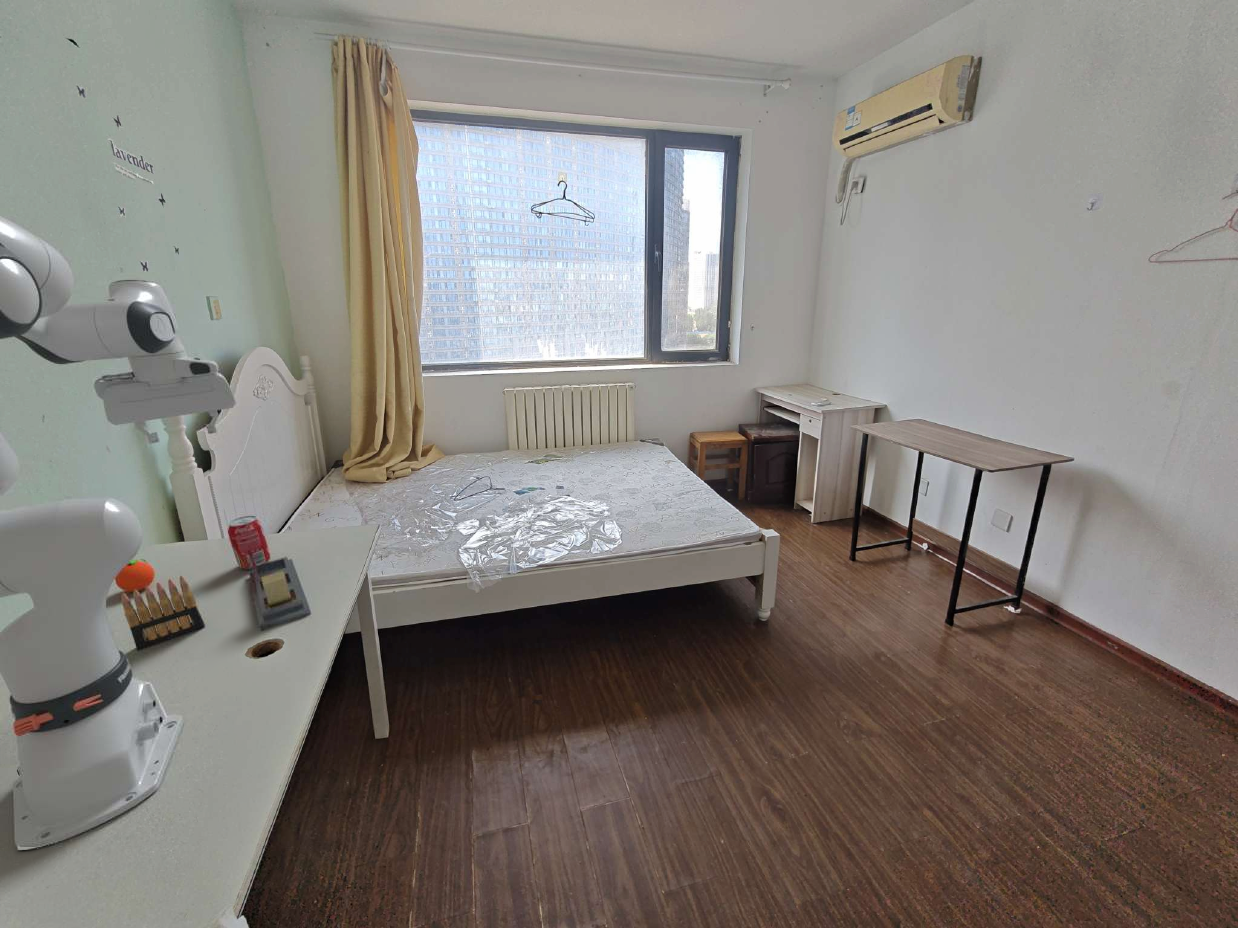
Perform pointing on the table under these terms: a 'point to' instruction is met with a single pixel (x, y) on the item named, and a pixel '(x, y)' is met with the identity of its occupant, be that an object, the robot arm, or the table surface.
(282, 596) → the tan rectangular block
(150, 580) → the clementine
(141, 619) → the ammunition clip
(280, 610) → the slotted tray
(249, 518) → the soda can
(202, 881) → the table surface
